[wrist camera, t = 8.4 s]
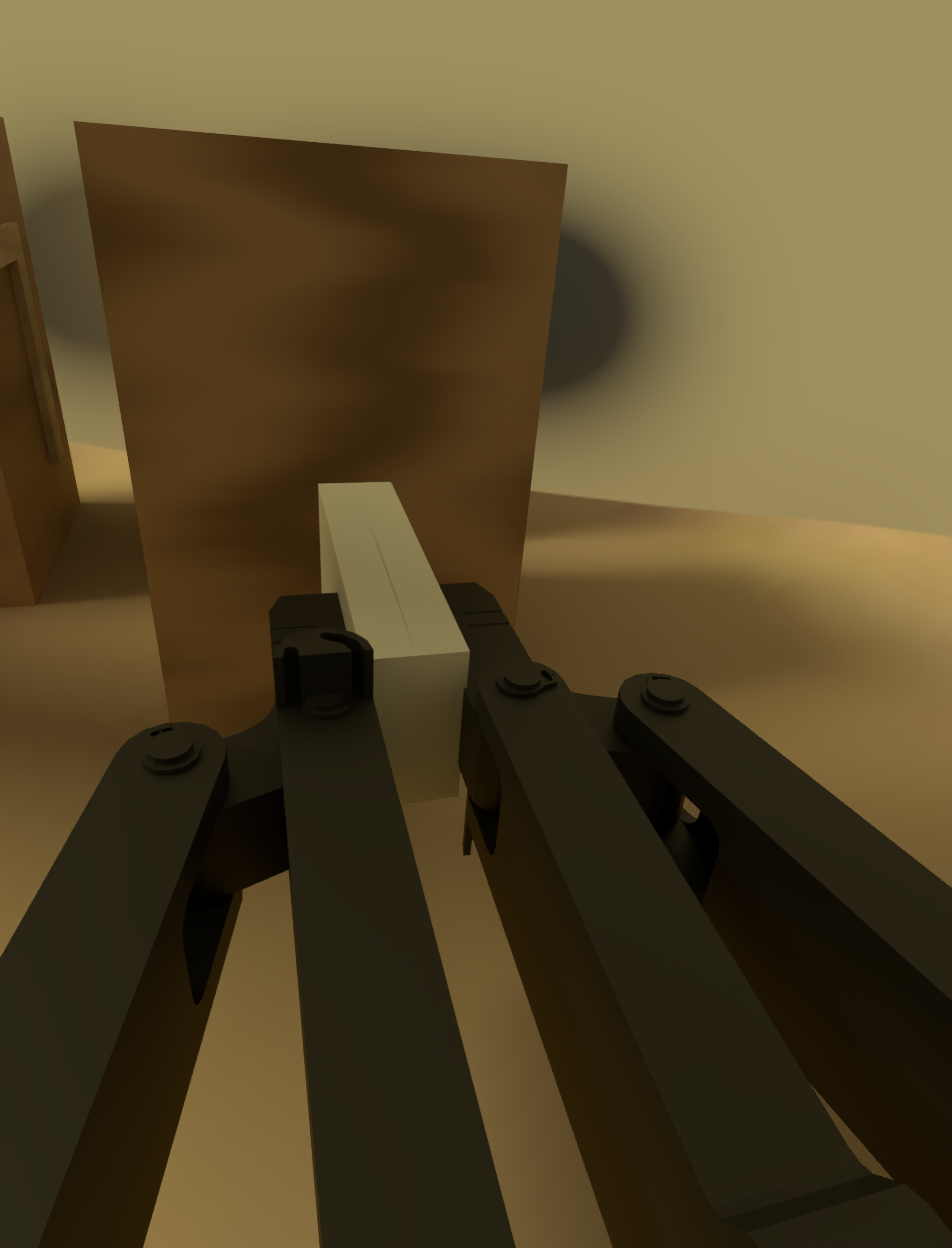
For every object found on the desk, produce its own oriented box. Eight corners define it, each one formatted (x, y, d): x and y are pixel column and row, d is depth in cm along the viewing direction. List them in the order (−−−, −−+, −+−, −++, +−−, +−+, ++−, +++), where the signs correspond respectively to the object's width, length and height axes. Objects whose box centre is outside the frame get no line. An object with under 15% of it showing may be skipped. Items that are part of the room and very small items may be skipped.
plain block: (175, 754, 20) (73, 121, 13) (192, 590, 28) (132, 127, 21) (503, 720, 23) (567, 164, 16) (438, 577, 30) (461, 155, 23)
